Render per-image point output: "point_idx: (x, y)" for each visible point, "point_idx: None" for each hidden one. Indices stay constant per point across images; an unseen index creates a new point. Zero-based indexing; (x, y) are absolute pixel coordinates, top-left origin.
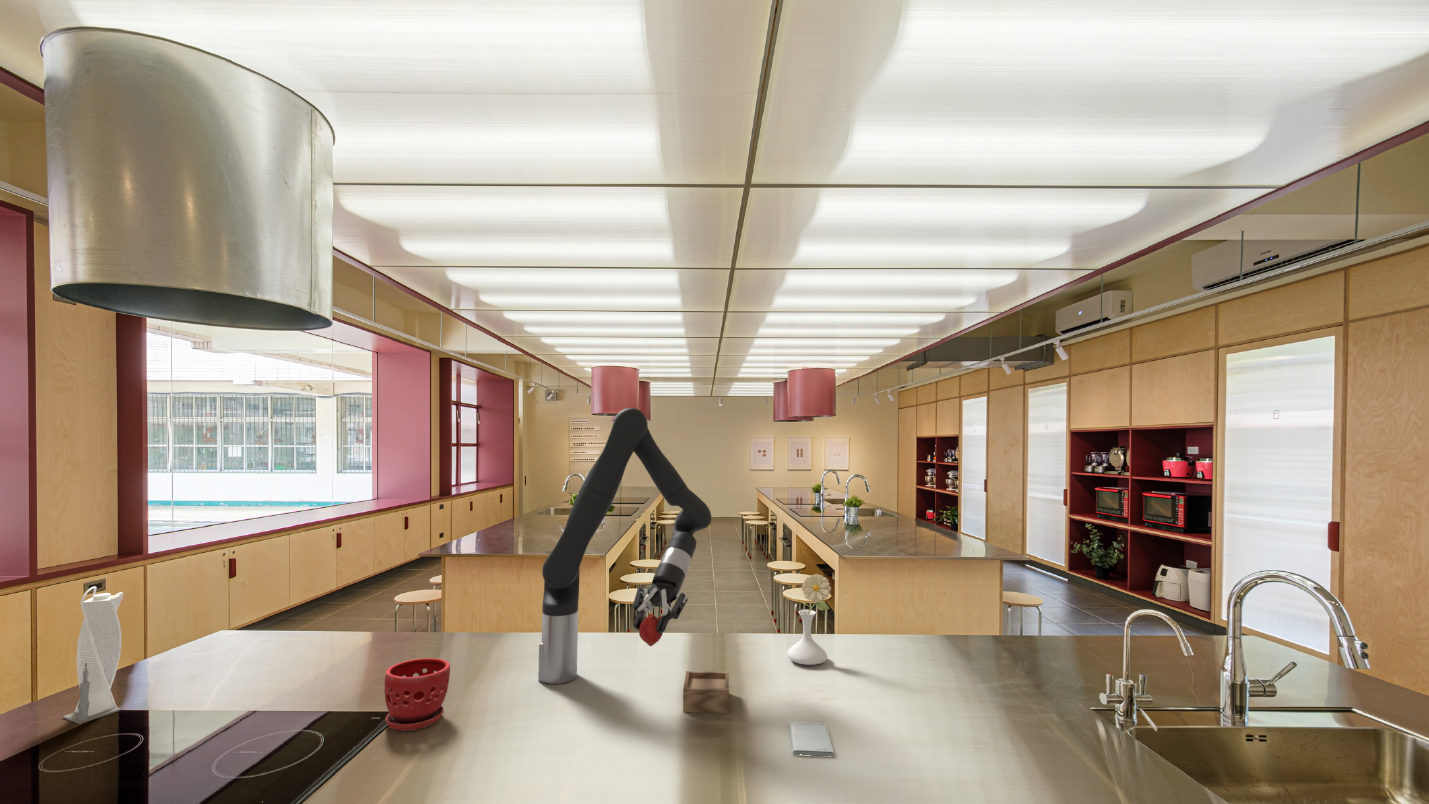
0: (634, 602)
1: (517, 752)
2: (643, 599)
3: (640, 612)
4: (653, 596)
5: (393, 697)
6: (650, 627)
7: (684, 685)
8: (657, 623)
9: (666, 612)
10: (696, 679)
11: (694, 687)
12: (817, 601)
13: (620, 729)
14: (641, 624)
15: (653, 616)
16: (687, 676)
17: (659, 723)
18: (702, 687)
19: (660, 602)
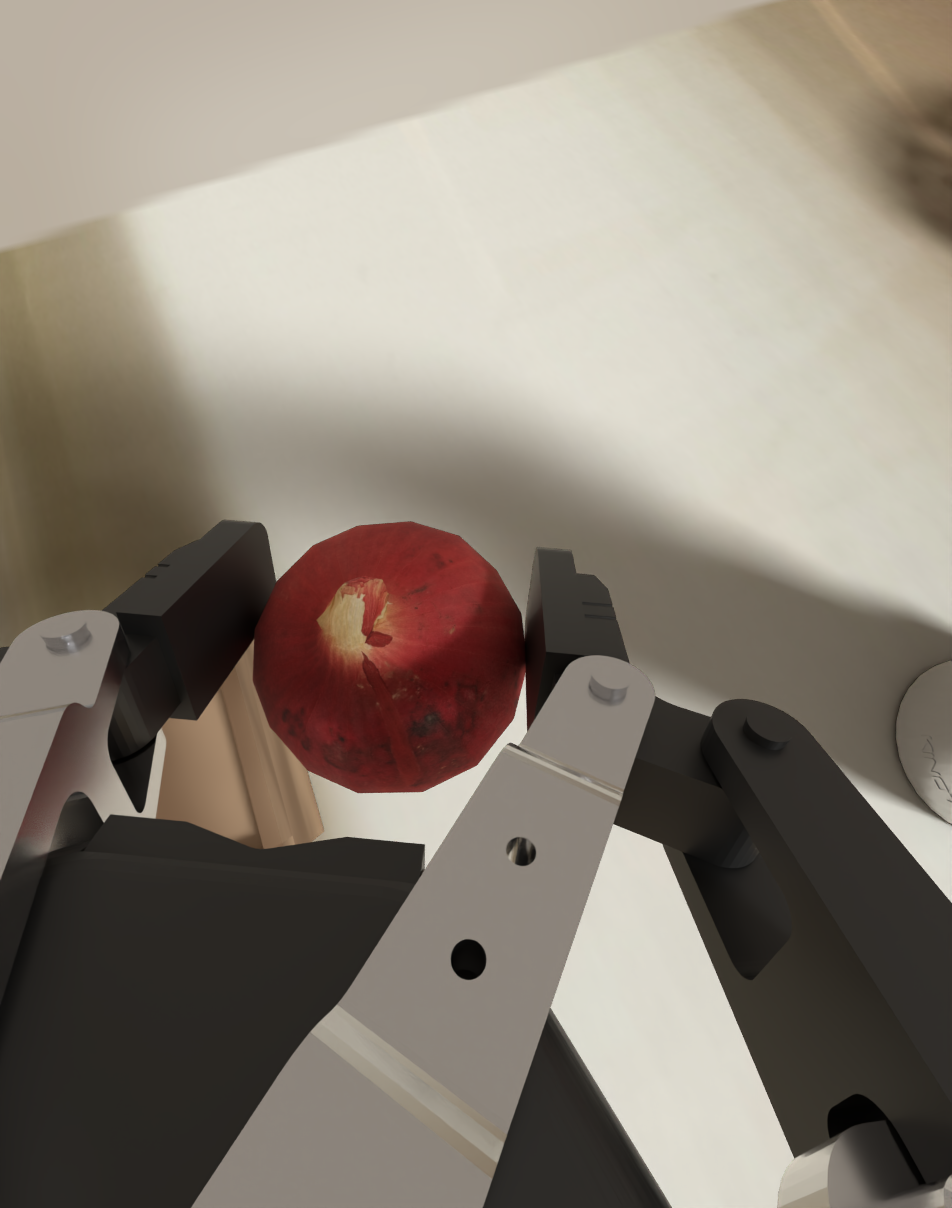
0: (844, 799)
1: (663, 210)
2: (795, 1139)
3: (564, 650)
4: (358, 994)
5: None
6: (338, 534)
7: (232, 670)
8: (269, 609)
9: (38, 643)
10: (227, 829)
11: (207, 727)
12: None
13: (441, 433)
14: (471, 557)
15: (319, 630)
16: (254, 787)
17: (325, 522)
18: (167, 743)
19: (138, 839)
